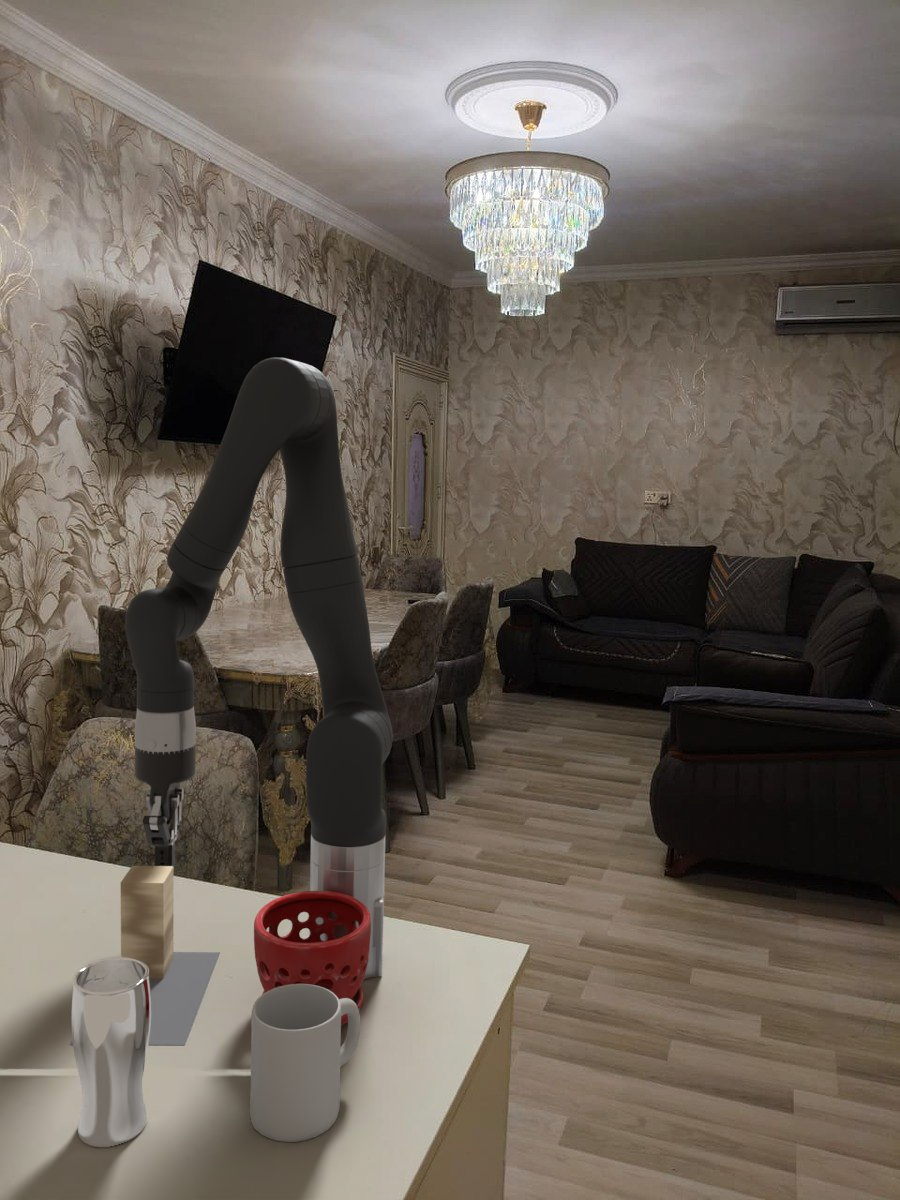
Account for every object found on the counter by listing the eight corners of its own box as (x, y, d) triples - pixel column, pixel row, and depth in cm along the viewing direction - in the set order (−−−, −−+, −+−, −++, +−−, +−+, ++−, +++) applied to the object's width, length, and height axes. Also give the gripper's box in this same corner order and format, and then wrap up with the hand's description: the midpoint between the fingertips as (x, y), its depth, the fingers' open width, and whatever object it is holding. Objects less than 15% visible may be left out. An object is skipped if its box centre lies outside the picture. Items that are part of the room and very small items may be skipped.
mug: (285, 1157, 86) (287, 1043, 84) (232, 1111, 91) (233, 1004, 90) (384, 1097, 94) (387, 994, 93) (329, 1060, 100) (331, 961, 99)
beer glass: (85, 1102, 92) (83, 956, 90) (158, 1100, 93) (158, 955, 91) (62, 1152, 85) (60, 995, 83) (142, 1150, 86) (141, 994, 84)
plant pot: (244, 993, 112) (245, 896, 111) (351, 976, 117) (353, 883, 116) (264, 1056, 100) (265, 949, 99) (383, 1034, 105) (386, 931, 104)
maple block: (173, 957, 119) (173, 865, 118) (163, 978, 114) (163, 883, 113) (133, 956, 119) (132, 865, 117) (121, 978, 114) (120, 882, 112)
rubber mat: (220, 956, 121) (220, 952, 121) (184, 1049, 101) (184, 1045, 101) (124, 955, 120) (124, 951, 120) (69, 1049, 100) (69, 1044, 100)
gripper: (183, 757, 116) (182, 892, 118) (205, 728, 129) (204, 851, 131) (120, 755, 115) (120, 891, 117) (149, 727, 128) (148, 850, 131)
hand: (164, 870), depth 124 cm, fingers closed
